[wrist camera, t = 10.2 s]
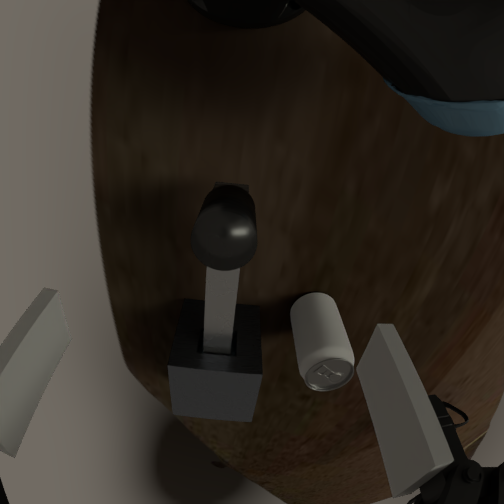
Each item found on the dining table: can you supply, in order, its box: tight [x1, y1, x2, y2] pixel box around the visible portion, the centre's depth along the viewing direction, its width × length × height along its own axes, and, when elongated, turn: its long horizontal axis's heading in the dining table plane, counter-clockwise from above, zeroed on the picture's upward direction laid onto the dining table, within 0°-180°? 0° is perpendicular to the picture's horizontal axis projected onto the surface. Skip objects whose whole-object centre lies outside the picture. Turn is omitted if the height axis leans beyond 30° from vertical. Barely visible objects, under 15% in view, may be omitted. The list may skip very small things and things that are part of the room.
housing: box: [168, 299, 263, 422], centre depth 39 cm, size 10×10×12 cm
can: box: [290, 293, 354, 391], centre depth 37 cm, size 6×6×12 cm
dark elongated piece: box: [191, 182, 257, 356], centre depth 30 cm, size 26×4×9 cm, turn 173°
